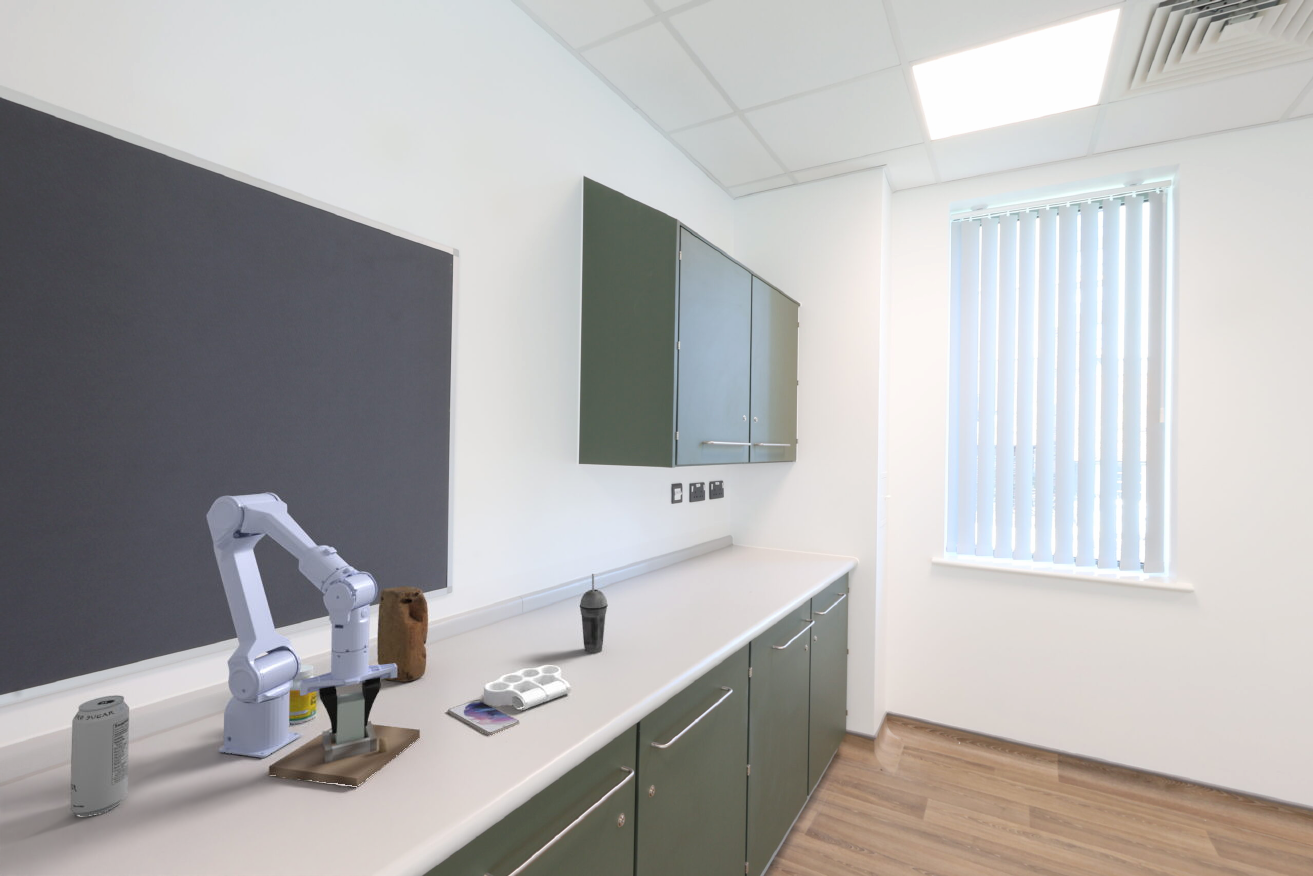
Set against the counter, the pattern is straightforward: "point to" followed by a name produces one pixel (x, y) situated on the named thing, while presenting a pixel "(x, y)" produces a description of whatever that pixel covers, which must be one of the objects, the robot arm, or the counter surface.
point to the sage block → (350, 717)
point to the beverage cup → (593, 619)
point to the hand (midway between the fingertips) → (349, 727)
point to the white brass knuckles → (527, 687)
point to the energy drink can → (99, 755)
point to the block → (403, 631)
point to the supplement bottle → (302, 698)
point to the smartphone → (483, 717)
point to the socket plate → (344, 767)
